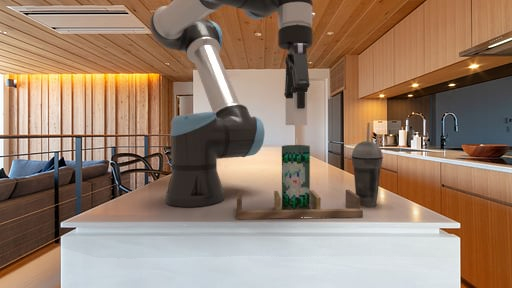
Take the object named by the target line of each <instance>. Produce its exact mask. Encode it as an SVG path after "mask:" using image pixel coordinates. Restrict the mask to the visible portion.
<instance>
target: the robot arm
mask: <svg viewBox="0 0 512 288" xmlns="http://www.w3.org/2000/svg"><path fill="white" fill-rule="evenodd" d="M223 6H228V7H232V8H234V9H235V8H236V9H240V10H243V11H244V12H245V14H246V15H248V16H249V18H251V19H253V20H261V19H265V18H268V17H270V16H272V15H273V14H275V13H277V27H278V29H279V30H278V31H277V34H278V35H277V36H278V37H277V39H278V40H277V46H278V47H279V48H280V49H282V50H287V51H288V53H287V54H286V56H285V80H284V81H285V82H284V83H285V84H284V94H283V95H284V97H285V126H308V89H309V88H310V85H311V84H310V75H309V66H308V57H307V56H308V54H307V49H309V48H311V47H312V46H313V41H314V40H313V39H314V38H313V34H314V33H313V32H314V31H313V29H312V26H313V18H315V17H316V13H314V12H313V0H172V1H171V2H170V3H168V4H167V5H163V6H160V7H158V8H157V9H156V10H155V11H154V12H153V13H152V15H151V17H150V19H149V20H150V21H149V29H150V33H151V34H152V36H153V38H154V39H155V41H156V42H157V43H158V44H159V45H161V46H162V47H163V48H166V49H170V50H173V51H177V52H178V51H179V52H184V53H186V57H187V59H188V60H189V61H190V62H191V63H194V65H195V68H196V72H197V73H198V76H199V78H200V81H201V83H202V86H203V90H204V93H205V95H206V98H207V100H208V103H209V105H210V108H211V111H206V112H197V113H195V112H194V113H187V114H180V115H175V116H174V117H173V118H172V119H171V122H170V146H171V147H170V149H171V151H170V152H171V175H170V177H169V178H170V179H169V182H168V187H167V190H166V192H165V203H166V204H168V205H169V206H173V207H181V208H183V207H184V208H190V207H191V208H192V207H193V208H194V207H205V206H211V205H215V204H218V203H221V202H222V201H224V199H225V195H224V194H225V193H224V188H223V185H222V182H221V179H220V176H219V173H218V170H217V169H218V167H217V166H218V165H217V164H218V163H217V160H218V159H232V158H246V157H249V156H254V155H256V154H258V153H259V152H260V150H261V148H262V146H263V144H264V139H265V126H264V123H263V121H262V120H261V119H260V118H258V117H256V116H251V114H250V111H249V110H248V107H247V106H246V105H244V104H243V103H240V101H239V98H238V96H237V93H236V92H235V89H234V87H233V85H232V82H231V80H230V77H229V75H228V73H227V71H226V68H225V66H224V63H223V61H222V59H221V56H220V52H221V50H222V47H223V42H224V41H223V39H222V38H223V33H222V29H221V28H220V25H219V24H218V23H216V22H215V21H213V20H211V19H210V20H209V19H207V18H206V17H207V16H209V15H210V14H212V13H213V12H215V11H218V10H219V9H220V8H222V7H223Z"/></svg>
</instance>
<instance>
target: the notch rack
mask: <svg viewBox="0 0 512 288" xmlns="http://www.w3.org/2000/svg"><path fill="white" fill-rule="evenodd" d="M273 196H274V197H273V199H274V203H273V205H274V207H273V208H274V209H256V210H255V209H254V210H253V209H252V210H250V209H248V210H243V193H242V191H241V190H240V191H238V192H237V196H236V220H237V219H249V220H269V219H268V218H301V217H303V218H304V217H316V218H315V219H326V218H325V217H364V216H363V215H364V210H363V209H362V208H361V206H360V197H359V196H358V195H356V192H353V191H352V190H350V189H345V207H346V208H322V207H321V206H322V205H321V197H320V195H319V194H318V193H317V191H315V190H314V189H310V209H300V210H282V197H281V196H280V193H279V190H273ZM317 217H318V218H317ZM319 217H320V218H319ZM323 217H324V218H323Z"/></svg>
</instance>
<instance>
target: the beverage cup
mask: <svg viewBox="0 0 512 288" xmlns="http://www.w3.org/2000/svg"><path fill="white" fill-rule="evenodd" d="M366 124H367V127H366V141H364V140H363V141H361V142H359V143H358V144H356V145H355V146H354V148H353V150H352V154H351V161H352V167H353V175H354V176H353V177H354V178H353V179H354V187H355V188H354V189H355V194H356V195H358V196H359V197H360V207H366V208H367V207H368V208H372V207H376V206H377V201H378V197H379V196H378V195H379V185H380V178H381V175H380V174H381V167H382V166H383V165H382V164H383V159H384V157H383V151H382V149H381V148H380V146H379V145H378V144H377V143H376V142H374V141H370V125H371V124H370V122H367V123H366Z"/></svg>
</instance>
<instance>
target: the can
mask: <svg viewBox="0 0 512 288" xmlns="http://www.w3.org/2000/svg"><path fill="white" fill-rule="evenodd" d="M310 190H311V146H310V145H305V144H303V145H302V144H289V145H288V144H287V145H286V144H285V145H281V210H300V209H311V207H310Z"/></svg>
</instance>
